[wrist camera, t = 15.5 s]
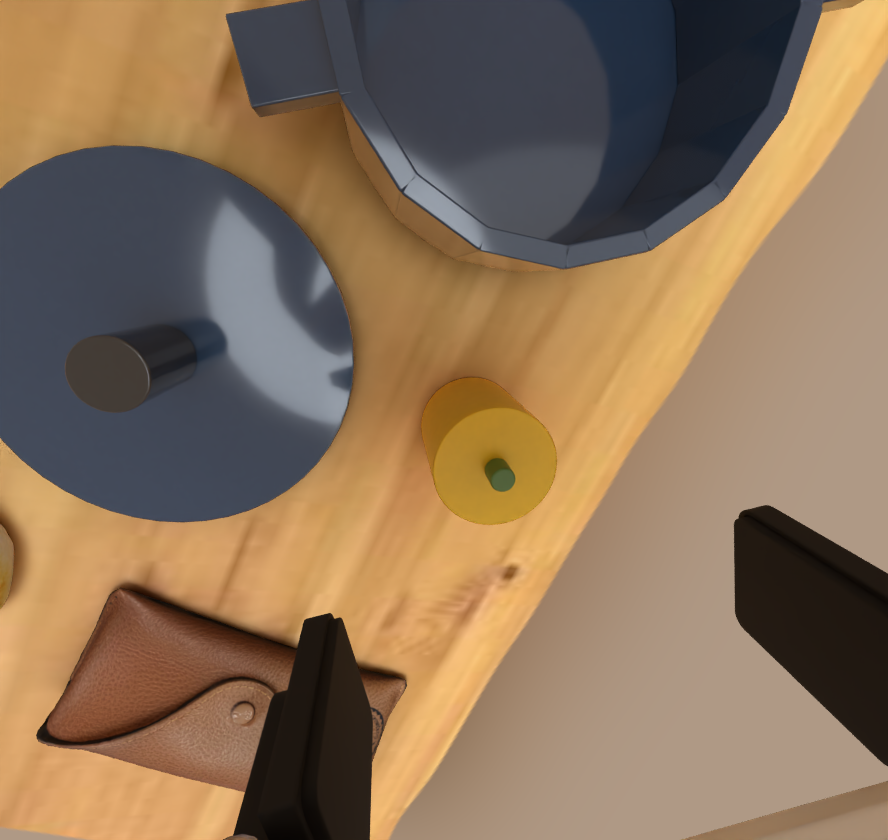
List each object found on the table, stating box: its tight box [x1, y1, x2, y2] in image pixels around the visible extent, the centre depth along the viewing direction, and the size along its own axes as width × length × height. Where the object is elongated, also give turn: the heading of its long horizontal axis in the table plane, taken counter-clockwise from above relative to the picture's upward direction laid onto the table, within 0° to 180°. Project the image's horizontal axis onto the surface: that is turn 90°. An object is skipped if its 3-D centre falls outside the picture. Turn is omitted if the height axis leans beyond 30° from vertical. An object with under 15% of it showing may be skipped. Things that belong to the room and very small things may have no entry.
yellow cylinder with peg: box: [421, 377, 557, 525], centre depth 21 cm, size 5×5×7 cm
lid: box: [0, 145, 355, 522], centre depth 19 cm, size 17×17×6 cm
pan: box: [226, 0, 864, 272], centre depth 17 cm, size 16×21×7 cm
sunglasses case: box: [36, 588, 407, 792], centre depth 26 cm, size 18×7×7 cm
